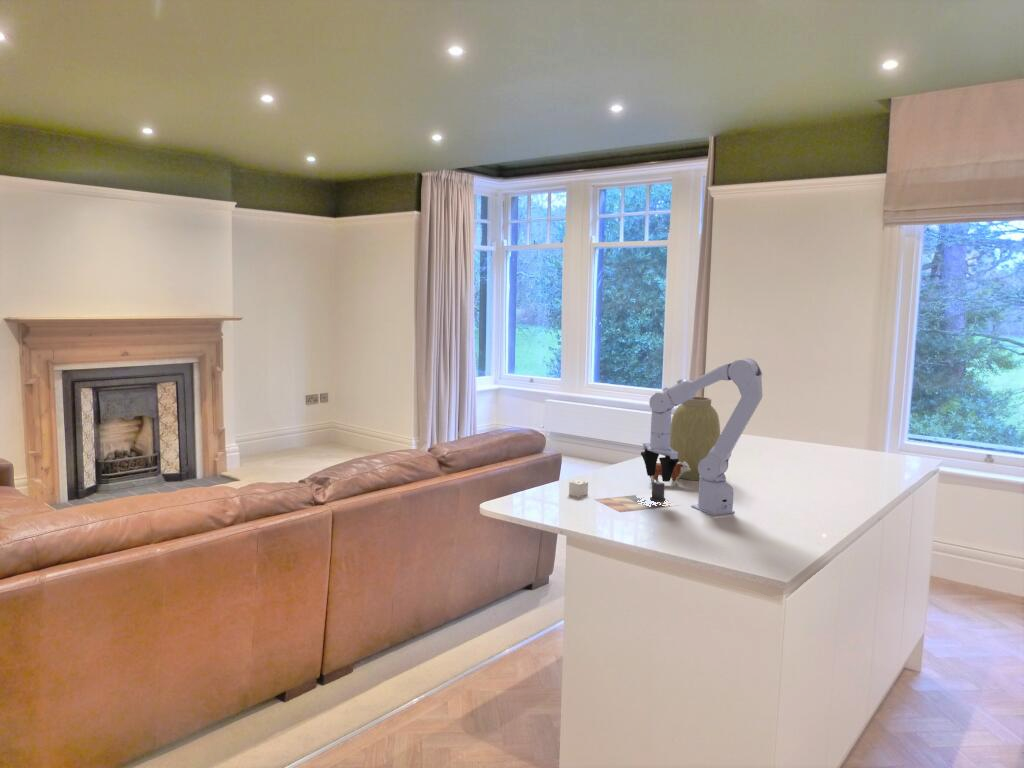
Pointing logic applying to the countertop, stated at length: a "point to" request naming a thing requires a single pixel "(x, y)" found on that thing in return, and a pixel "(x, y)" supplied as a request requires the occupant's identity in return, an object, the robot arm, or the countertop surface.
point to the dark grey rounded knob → (657, 492)
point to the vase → (694, 433)
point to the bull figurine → (676, 473)
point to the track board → (628, 503)
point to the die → (578, 488)
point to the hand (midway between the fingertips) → (658, 478)
